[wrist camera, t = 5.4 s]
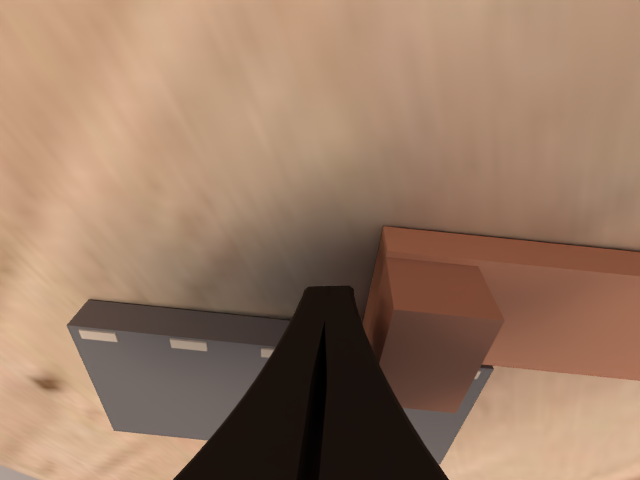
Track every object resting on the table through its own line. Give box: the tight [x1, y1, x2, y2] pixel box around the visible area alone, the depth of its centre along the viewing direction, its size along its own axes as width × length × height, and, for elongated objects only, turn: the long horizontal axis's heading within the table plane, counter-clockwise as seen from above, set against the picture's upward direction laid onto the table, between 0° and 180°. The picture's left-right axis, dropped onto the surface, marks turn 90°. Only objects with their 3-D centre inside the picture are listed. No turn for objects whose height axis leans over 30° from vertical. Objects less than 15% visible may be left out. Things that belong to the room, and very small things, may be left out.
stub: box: [363, 226, 640, 413], centre depth 10 cm, size 10×4×3 cm, turn 85°
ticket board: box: [67, 300, 493, 464], centre depth 14 cm, size 14×6×1 cm, turn 85°
